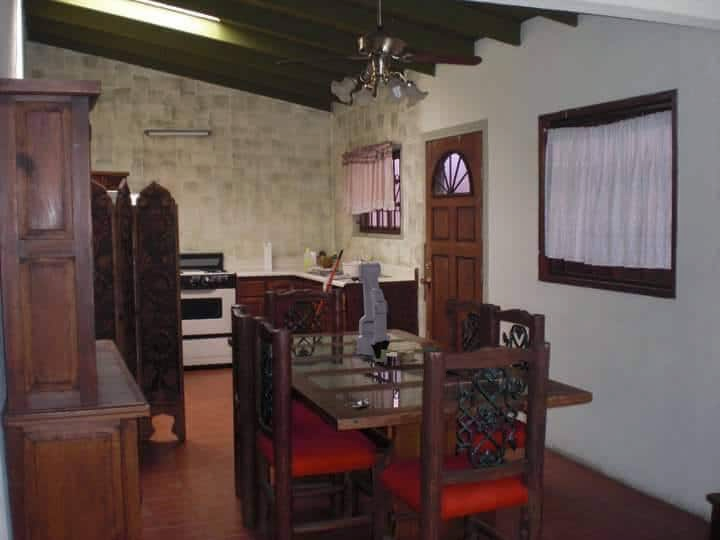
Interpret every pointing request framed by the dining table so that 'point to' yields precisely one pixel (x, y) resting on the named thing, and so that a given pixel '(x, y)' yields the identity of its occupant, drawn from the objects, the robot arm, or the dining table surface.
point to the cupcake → (429, 344)
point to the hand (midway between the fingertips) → (380, 357)
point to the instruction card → (392, 354)
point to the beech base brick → (405, 355)
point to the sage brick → (382, 356)
